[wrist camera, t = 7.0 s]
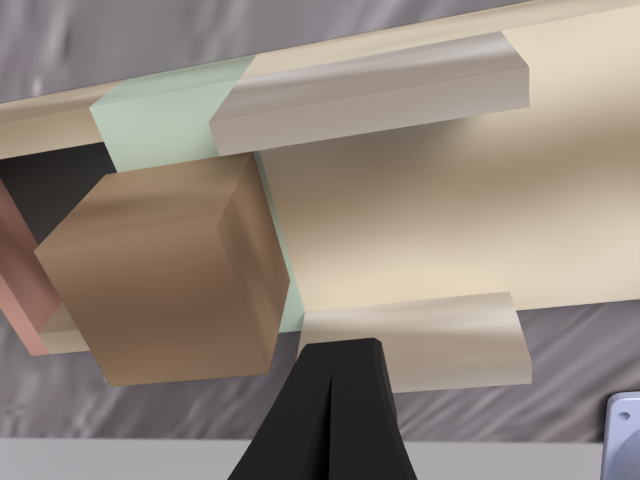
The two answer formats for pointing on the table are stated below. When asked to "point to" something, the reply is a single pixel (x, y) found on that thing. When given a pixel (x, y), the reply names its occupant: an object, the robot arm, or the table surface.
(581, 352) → the table surface
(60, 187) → the board
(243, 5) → the table surface
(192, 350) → the walnut block
